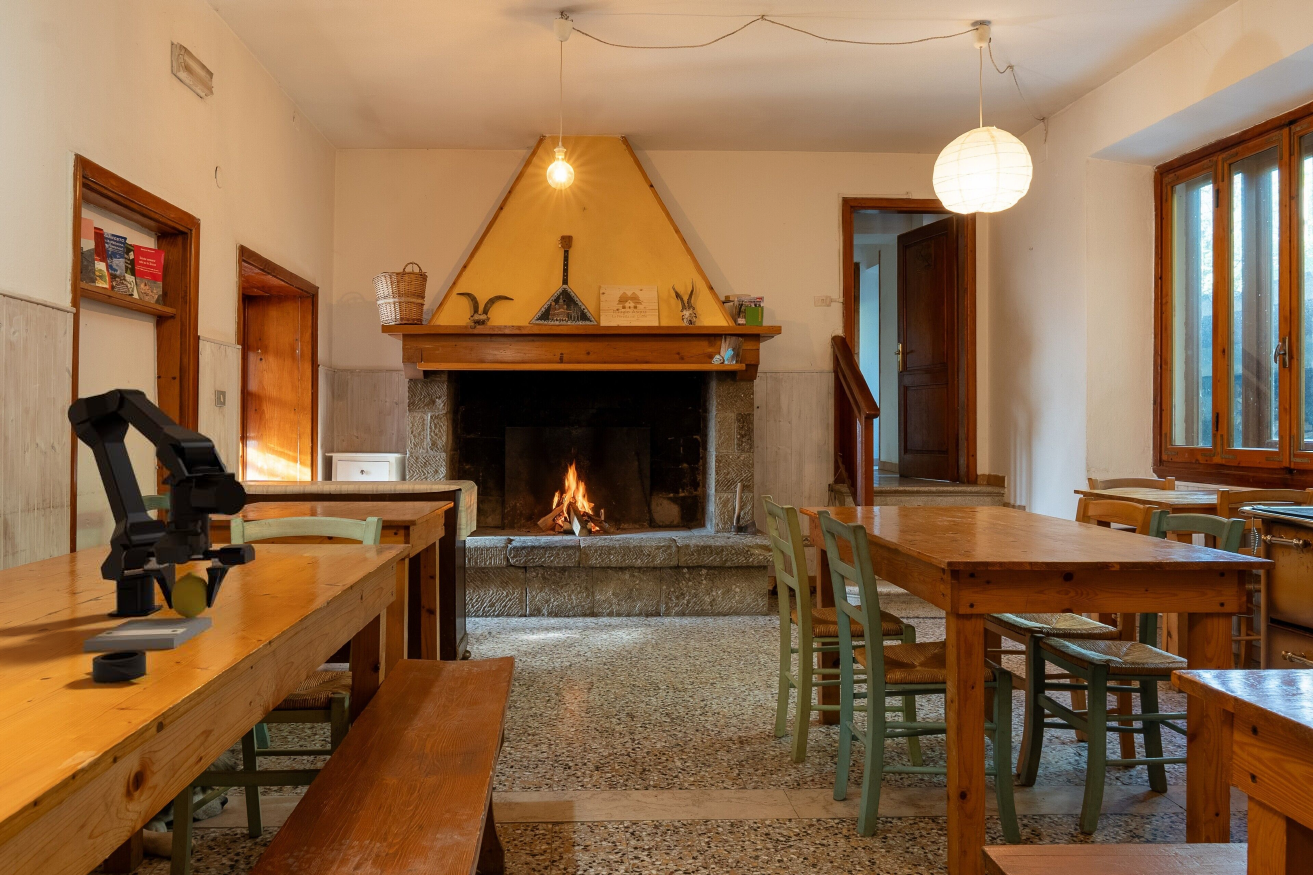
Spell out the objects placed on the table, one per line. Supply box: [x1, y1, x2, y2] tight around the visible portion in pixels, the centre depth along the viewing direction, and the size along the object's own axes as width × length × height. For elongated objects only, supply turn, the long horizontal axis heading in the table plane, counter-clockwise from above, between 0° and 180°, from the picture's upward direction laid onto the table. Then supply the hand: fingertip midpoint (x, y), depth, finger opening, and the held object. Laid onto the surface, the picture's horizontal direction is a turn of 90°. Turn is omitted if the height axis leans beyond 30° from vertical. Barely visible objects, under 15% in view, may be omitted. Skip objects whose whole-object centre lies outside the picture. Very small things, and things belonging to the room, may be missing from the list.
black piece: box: [91, 650, 149, 684], centre depth 111 cm, size 8×10×3 cm
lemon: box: [171, 571, 208, 618], centre depth 143 cm, size 6×6×8 cm
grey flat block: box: [83, 616, 212, 653], centre depth 131 cm, size 14×12×2 cm
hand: (190, 608), depth 143 cm, fingers closed on lemon, 5 cm apart
